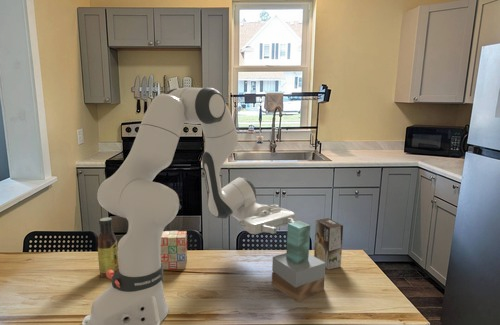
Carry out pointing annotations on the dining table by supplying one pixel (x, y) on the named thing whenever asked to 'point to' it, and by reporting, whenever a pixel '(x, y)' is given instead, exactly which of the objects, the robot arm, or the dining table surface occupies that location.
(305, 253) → the teal block
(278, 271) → the tower top
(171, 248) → the stack of blocks
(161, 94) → the robot arm
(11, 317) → the dining table surface
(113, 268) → the sauce bottle
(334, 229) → the coffee box
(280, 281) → the tower base
